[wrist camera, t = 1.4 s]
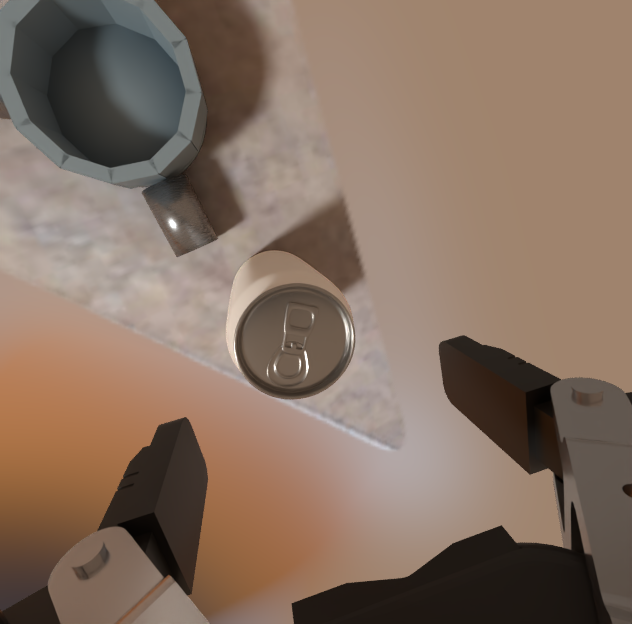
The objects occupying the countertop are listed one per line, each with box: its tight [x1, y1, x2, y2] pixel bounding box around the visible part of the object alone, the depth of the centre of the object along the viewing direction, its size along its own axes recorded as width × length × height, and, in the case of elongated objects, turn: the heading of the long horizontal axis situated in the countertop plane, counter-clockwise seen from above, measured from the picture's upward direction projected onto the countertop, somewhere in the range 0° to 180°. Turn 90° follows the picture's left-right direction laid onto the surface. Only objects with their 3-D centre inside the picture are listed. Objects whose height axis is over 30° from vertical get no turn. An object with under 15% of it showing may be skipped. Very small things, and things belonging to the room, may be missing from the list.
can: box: [226, 250, 355, 399], centre depth 22 cm, size 6×6×12 cm
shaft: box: [142, 175, 218, 257], centre depth 24 cm, size 4×3×3 cm
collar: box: [0, 0, 208, 189], centre depth 21 cm, size 10×10×4 cm
